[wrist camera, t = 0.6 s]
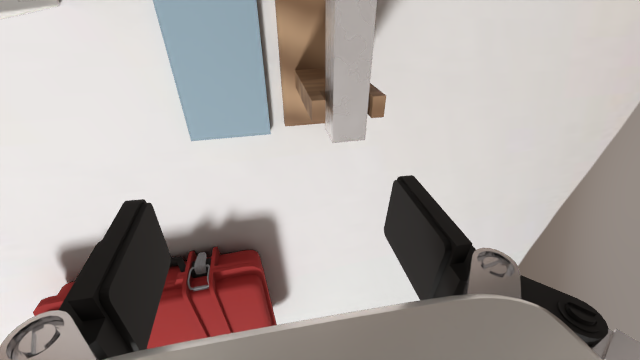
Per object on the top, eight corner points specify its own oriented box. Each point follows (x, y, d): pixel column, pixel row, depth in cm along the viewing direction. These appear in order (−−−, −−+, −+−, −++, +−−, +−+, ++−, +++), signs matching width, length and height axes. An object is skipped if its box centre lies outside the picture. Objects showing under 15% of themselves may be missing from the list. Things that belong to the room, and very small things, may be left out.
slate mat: (91, -238, 21) (85, -247, 21) (232, -223, 23) (231, -231, 22) (192, 137, 38) (191, 141, 37) (270, 131, 39) (270, 134, 39)
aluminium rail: (326, -205, 18) (339, -239, 15) (376, -200, 18) (397, -232, 16) (325, 129, 30) (332, 142, 27) (355, 126, 30) (365, 139, 28)
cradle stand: (259, -201, 24) (267, -348, 13) (375, -189, 25) (464, -313, 15) (284, 122, 39) (297, 171, 29) (355, 116, 41) (392, 161, 30)
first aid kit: (116, 347, 58) (98, 397, 51) (50, 271, 45) (14, 323, 38) (277, 313, 63) (281, 354, 55) (259, 234, 50) (261, 275, 42)
